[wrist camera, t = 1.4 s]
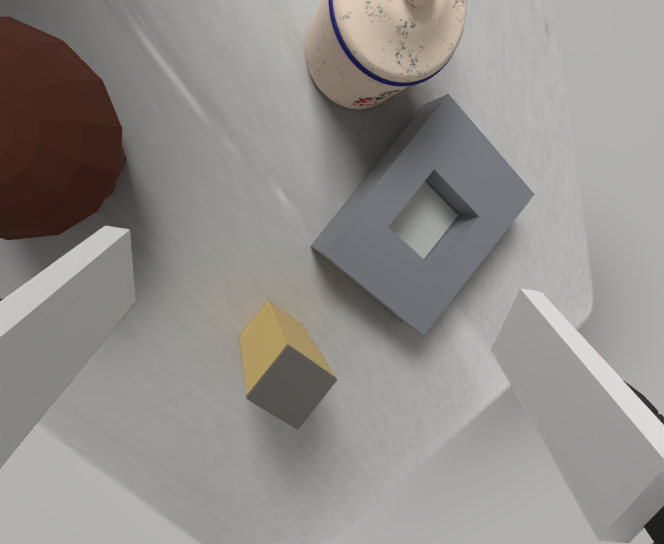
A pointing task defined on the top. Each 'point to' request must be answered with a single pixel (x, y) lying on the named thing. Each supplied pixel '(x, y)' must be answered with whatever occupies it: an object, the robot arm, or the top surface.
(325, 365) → the plug
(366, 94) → the teacup with lid
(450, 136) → the socket plate
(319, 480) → the top surface
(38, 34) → the muffin
